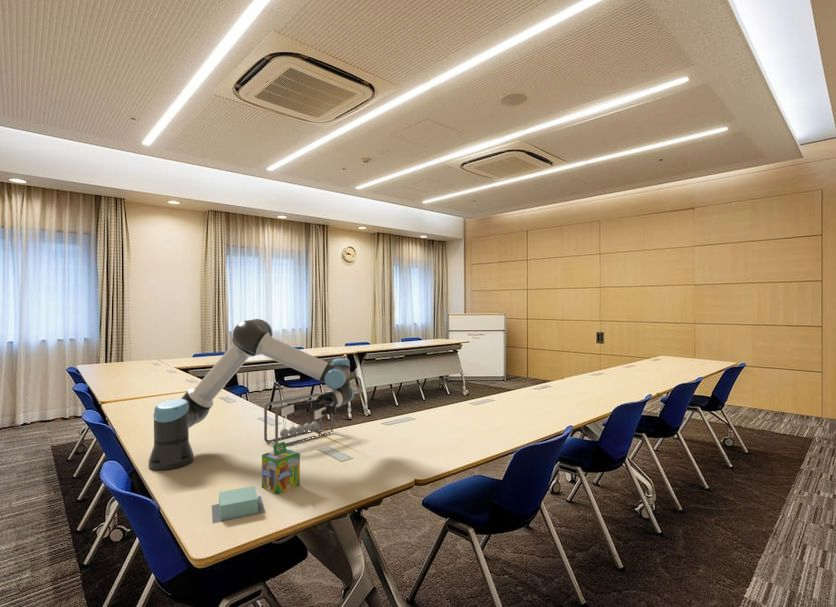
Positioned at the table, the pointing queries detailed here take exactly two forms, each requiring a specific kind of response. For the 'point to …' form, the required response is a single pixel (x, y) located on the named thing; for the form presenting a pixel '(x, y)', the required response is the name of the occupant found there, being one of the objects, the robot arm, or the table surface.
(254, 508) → the pedestal
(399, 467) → the table surface
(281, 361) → the robot arm
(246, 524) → the table surface
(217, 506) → the mat
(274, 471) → the chalk box
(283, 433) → the newton's cradle
